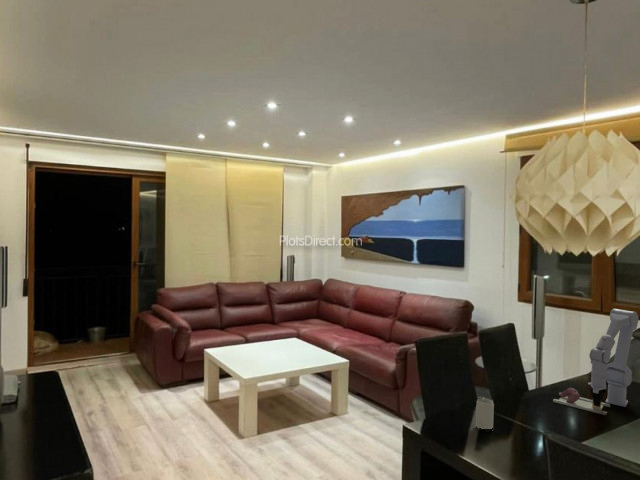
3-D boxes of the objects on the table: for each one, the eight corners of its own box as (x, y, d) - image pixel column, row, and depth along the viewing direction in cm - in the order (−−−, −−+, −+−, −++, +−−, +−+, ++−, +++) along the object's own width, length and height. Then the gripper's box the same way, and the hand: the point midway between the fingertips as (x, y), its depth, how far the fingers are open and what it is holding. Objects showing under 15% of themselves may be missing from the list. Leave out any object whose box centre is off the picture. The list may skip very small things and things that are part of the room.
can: (492, 427, 175) (493, 397, 175) (493, 434, 169) (494, 403, 169) (475, 424, 178) (476, 395, 177) (475, 430, 171) (476, 400, 171)
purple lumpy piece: (575, 408, 201) (583, 395, 200) (566, 402, 202) (574, 390, 201) (567, 400, 211) (575, 388, 210) (558, 395, 211) (566, 383, 211)
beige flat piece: (562, 396, 213) (562, 387, 213) (603, 406, 202) (603, 396, 202) (557, 402, 205) (557, 392, 205) (599, 412, 194) (600, 402, 194)
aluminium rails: (559, 394, 215) (559, 392, 215) (610, 406, 201) (610, 404, 201) (553, 402, 205) (553, 399, 205) (606, 415, 191) (606, 412, 191)
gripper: (591, 369, 207) (590, 398, 207) (585, 376, 196) (584, 406, 196) (609, 373, 202) (607, 402, 202) (604, 380, 191) (602, 411, 191)
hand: (597, 404), depth 199 cm, fingers closed on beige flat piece, 3 cm apart
